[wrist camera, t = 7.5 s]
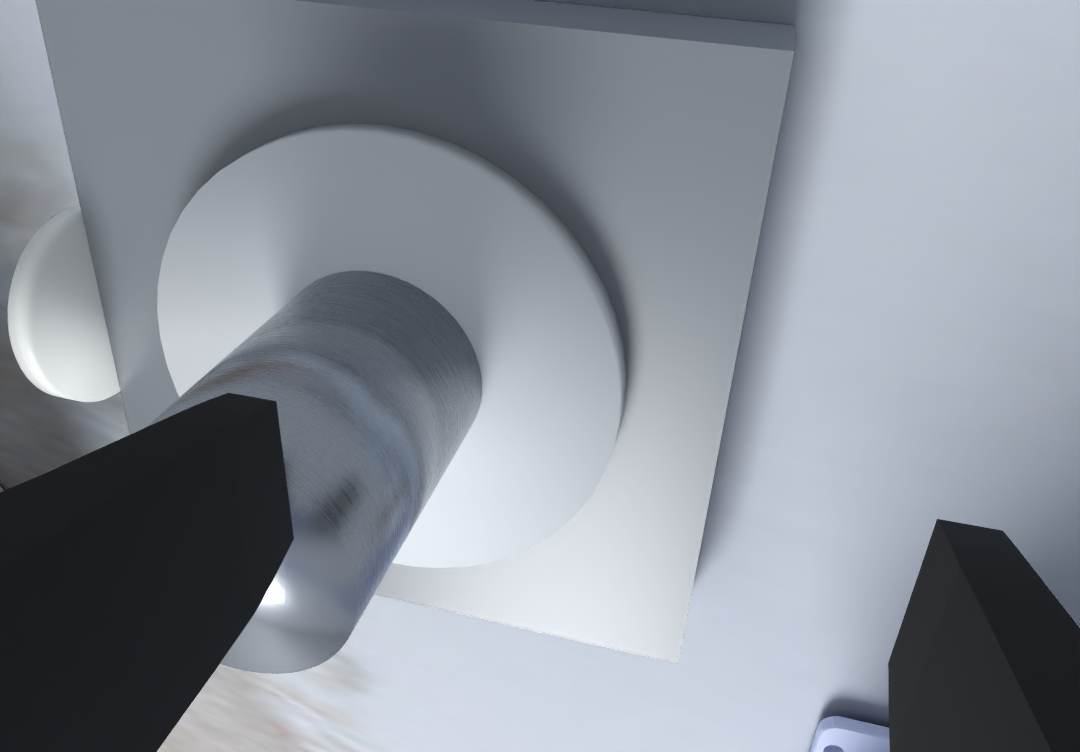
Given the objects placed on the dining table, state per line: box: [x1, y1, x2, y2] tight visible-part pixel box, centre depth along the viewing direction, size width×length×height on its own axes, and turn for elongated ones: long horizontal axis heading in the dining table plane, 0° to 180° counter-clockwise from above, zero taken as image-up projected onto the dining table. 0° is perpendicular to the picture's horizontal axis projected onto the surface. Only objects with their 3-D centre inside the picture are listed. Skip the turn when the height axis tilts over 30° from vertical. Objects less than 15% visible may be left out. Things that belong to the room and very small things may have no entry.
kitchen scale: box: [8, 0, 796, 664], centre depth 19 cm, size 14×15×5 cm
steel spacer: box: [145, 271, 482, 674], centre depth 16 cm, size 4×4×6 cm
